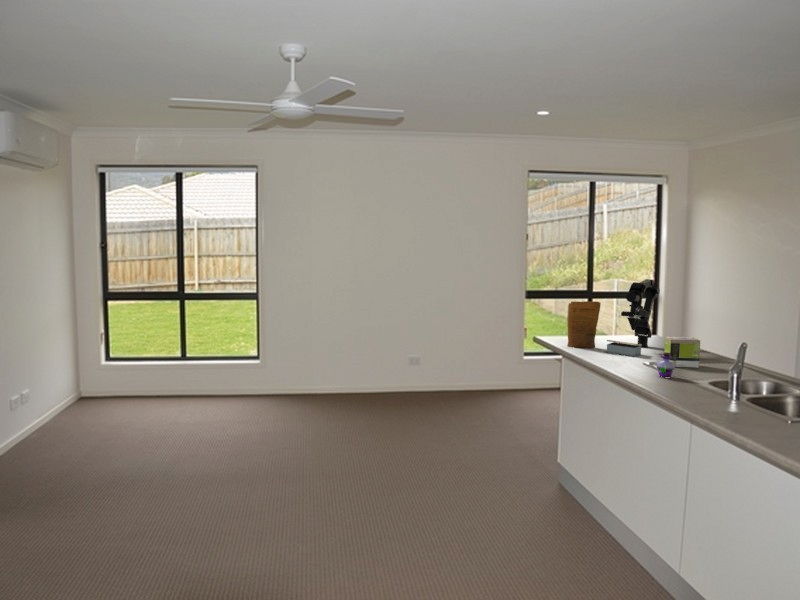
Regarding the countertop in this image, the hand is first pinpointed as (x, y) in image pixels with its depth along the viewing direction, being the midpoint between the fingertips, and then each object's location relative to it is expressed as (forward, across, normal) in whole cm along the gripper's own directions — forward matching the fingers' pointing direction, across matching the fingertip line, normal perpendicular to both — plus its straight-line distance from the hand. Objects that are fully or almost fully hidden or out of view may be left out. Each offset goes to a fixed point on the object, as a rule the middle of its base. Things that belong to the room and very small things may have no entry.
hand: (633, 330), depth 371 cm
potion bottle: (+22, -42, -50) cm, 69 cm away
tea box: (+16, -10, -38) cm, 43 cm away
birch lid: (+8, -12, -4) cm, 15 cm away
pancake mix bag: (+14, -17, +22) cm, 31 cm away
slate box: (+14, -10, -3) cm, 18 cm away
